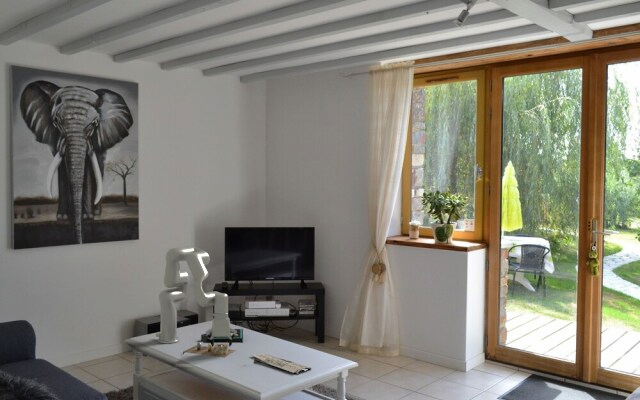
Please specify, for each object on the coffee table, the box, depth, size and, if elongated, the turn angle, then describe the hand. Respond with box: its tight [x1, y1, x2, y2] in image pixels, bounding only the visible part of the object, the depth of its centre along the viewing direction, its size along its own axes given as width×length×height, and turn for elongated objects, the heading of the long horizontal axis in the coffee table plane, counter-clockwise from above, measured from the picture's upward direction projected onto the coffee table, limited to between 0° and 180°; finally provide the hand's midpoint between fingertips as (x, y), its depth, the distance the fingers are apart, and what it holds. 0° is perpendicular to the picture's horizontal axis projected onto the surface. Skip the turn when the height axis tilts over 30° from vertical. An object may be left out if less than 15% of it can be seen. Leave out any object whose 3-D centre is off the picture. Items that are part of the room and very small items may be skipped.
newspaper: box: [251, 353, 312, 375], centre depth 310 cm, size 35×12×4 cm, turn 49°
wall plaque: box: [200, 328, 244, 344], centre depth 357 cm, size 30×4×30 cm
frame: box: [213, 343, 229, 355], centre depth 326 cm, size 7×7×4 cm
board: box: [182, 342, 237, 358], centre depth 328 cm, size 26×14×5 cm, turn 71°
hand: (221, 346), depth 325 cm, fingers open, 9 cm apart
